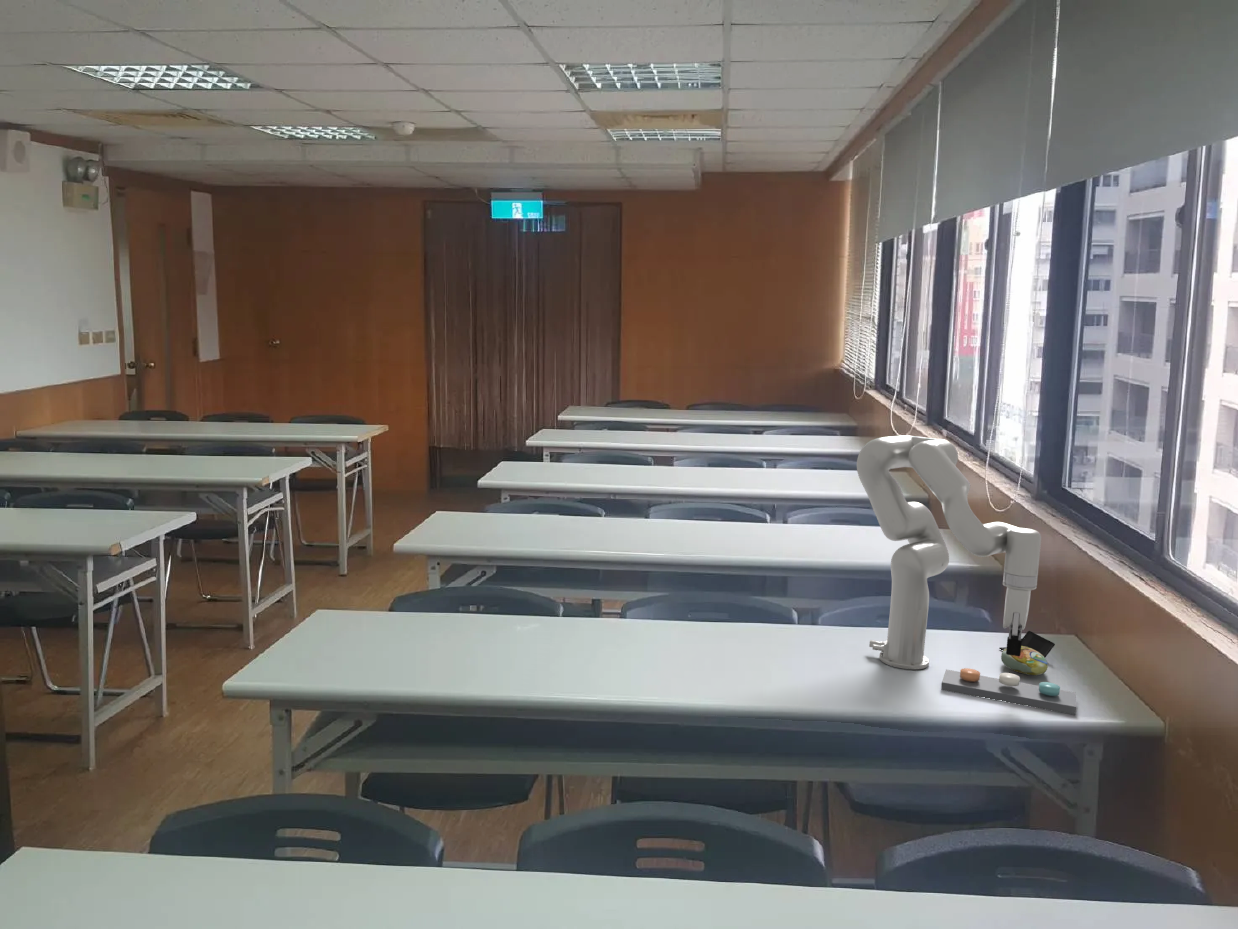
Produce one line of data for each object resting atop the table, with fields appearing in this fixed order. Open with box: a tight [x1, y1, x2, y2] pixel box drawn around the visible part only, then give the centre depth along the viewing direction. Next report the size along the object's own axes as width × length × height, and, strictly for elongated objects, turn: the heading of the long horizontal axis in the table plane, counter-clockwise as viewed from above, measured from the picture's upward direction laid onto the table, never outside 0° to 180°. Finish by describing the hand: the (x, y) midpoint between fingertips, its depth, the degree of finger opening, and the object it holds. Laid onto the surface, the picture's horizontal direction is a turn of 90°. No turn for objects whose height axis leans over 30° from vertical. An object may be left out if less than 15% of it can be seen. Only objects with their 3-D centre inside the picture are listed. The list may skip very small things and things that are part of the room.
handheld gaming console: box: [999, 630, 1056, 659], centre depth 274 cm, size 12×7×10 cm
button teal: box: [1038, 681, 1061, 696], centre depth 241 cm, size 5×5×2 cm
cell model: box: [1000, 646, 1049, 676], centre depth 263 cm, size 11×8×15 cm
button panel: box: [940, 668, 1077, 716], centre depth 245 cm, size 30×10×2 cm, turn 67°
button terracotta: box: [959, 667, 981, 681], centre depth 248 cm, size 5×5×2 cm
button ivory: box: [998, 672, 1021, 686], centre depth 244 cm, size 5×5×2 cm
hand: (1013, 654), depth 243 cm, fingers closed
